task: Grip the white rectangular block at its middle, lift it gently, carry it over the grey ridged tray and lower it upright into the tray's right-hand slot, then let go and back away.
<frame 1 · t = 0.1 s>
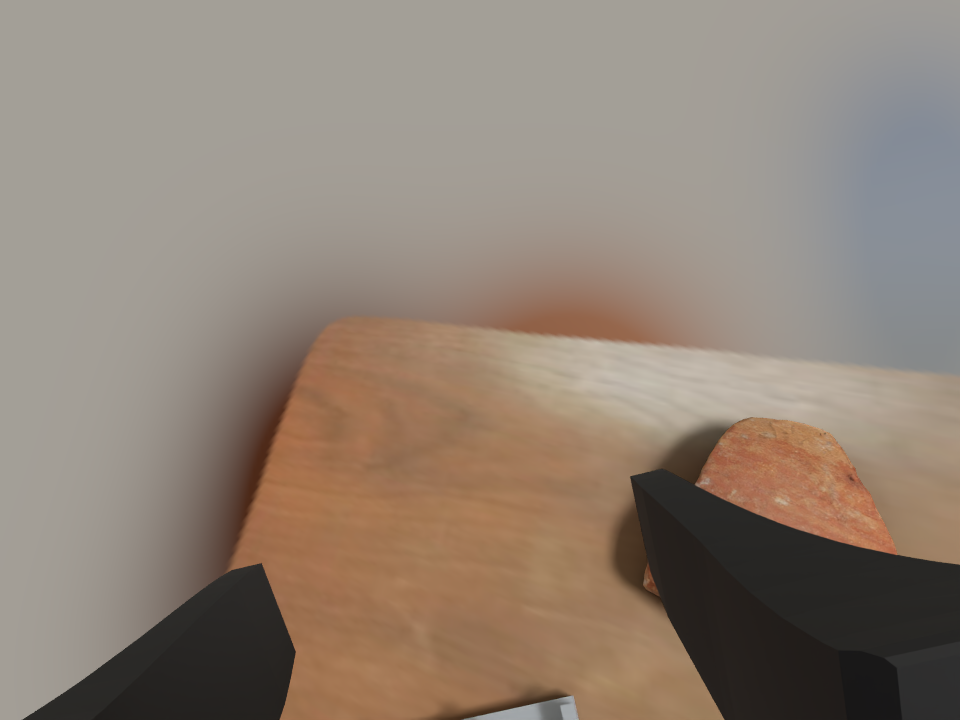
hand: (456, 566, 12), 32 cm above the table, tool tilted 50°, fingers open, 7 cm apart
ceramic shard: (788, 545, 41), on the table
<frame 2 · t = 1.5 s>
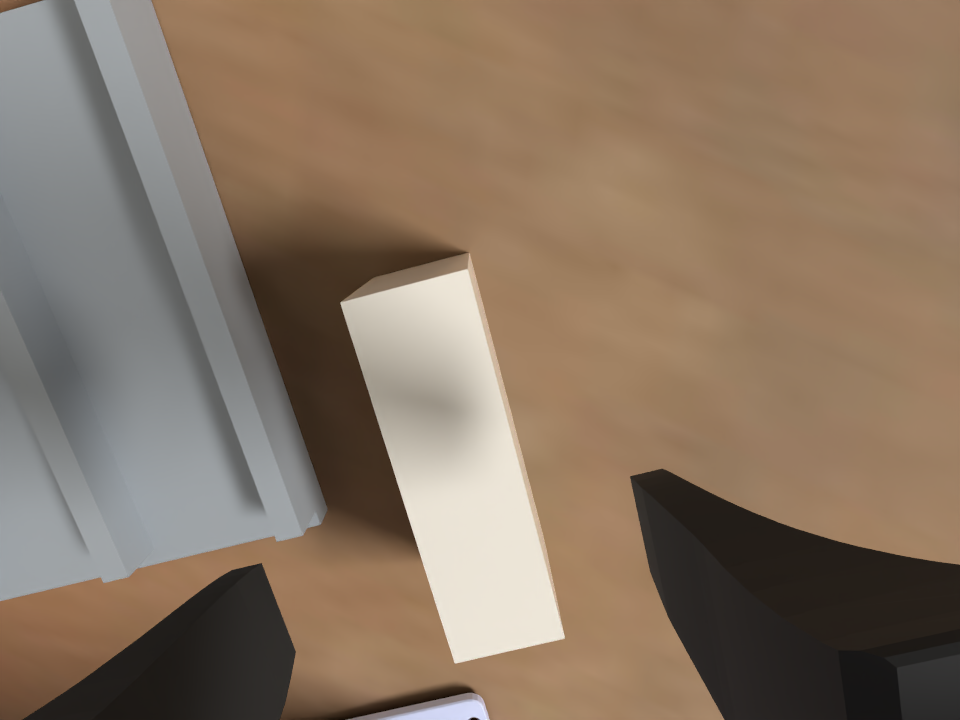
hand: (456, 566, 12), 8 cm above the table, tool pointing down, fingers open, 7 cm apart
white rectangular block: (463, 415, 20), on the table
grey ridged tray: (67, 322, 19), on the table
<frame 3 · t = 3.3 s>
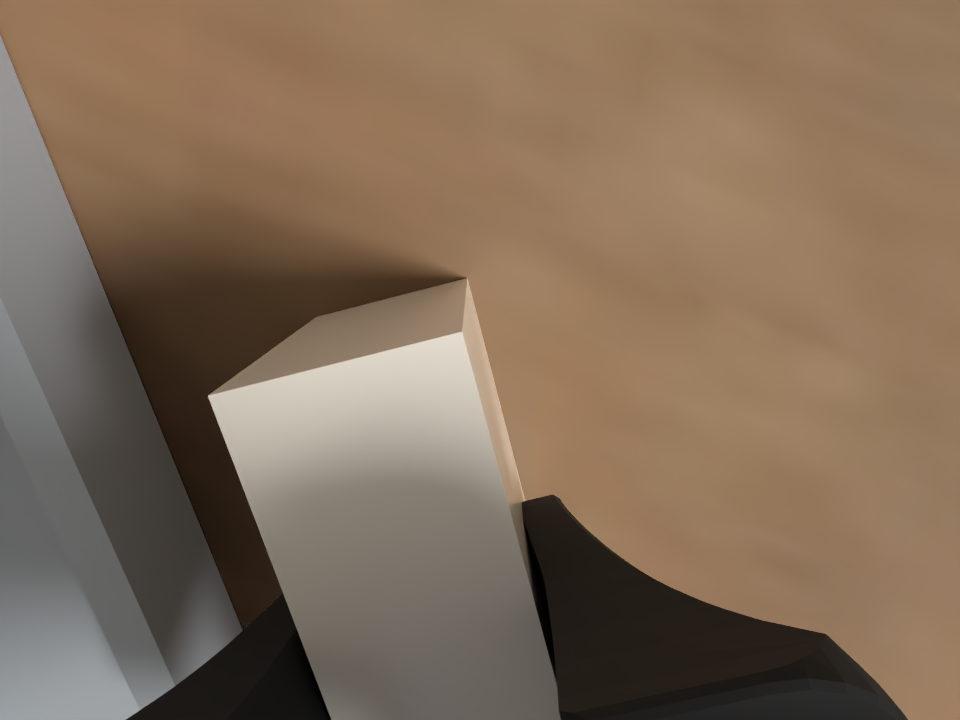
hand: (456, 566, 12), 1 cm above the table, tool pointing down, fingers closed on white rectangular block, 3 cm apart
white rectangular block: (458, 526, 13), on the table, touching gripper
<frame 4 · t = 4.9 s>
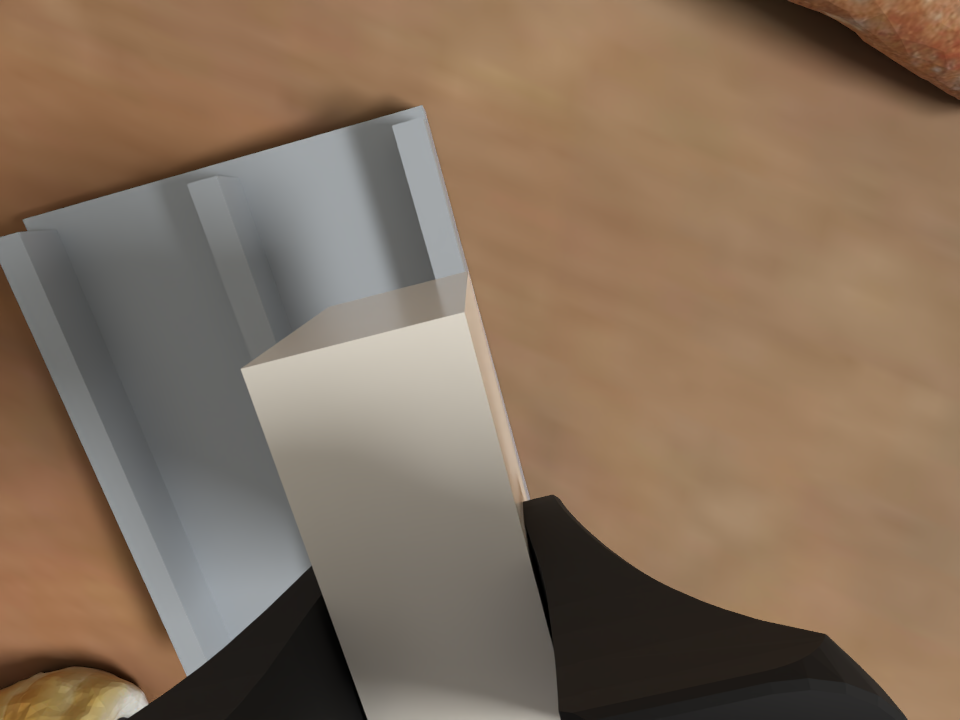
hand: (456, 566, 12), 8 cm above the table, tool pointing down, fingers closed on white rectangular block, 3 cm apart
white rectangular block: (459, 503, 14), point 6 cm above the table, touching gripper
grey ridged tray: (320, 418, 20), on the table
when the fingers open (3 cm above the table, at t = 6.7 s): white rectangular block stays where it is, resting on grey ridged tray.
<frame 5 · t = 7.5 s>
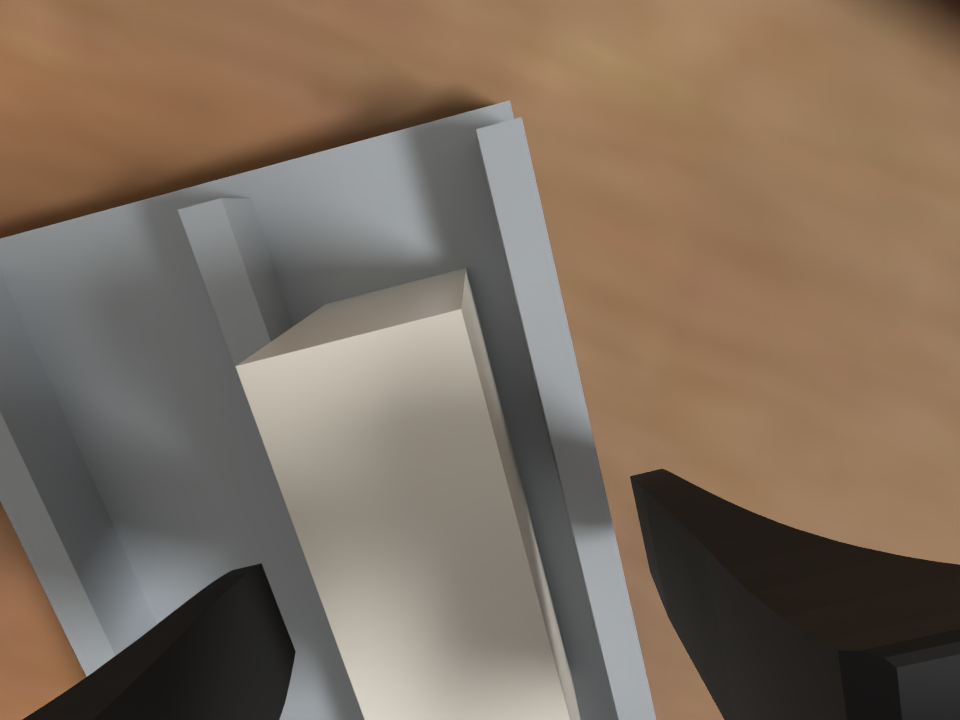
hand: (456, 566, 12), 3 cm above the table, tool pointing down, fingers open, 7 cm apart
white rectangular block: (457, 501, 14), point 1 cm above the table, touching grey ridged tray
grey ridged tray: (353, 511, 15), on the table
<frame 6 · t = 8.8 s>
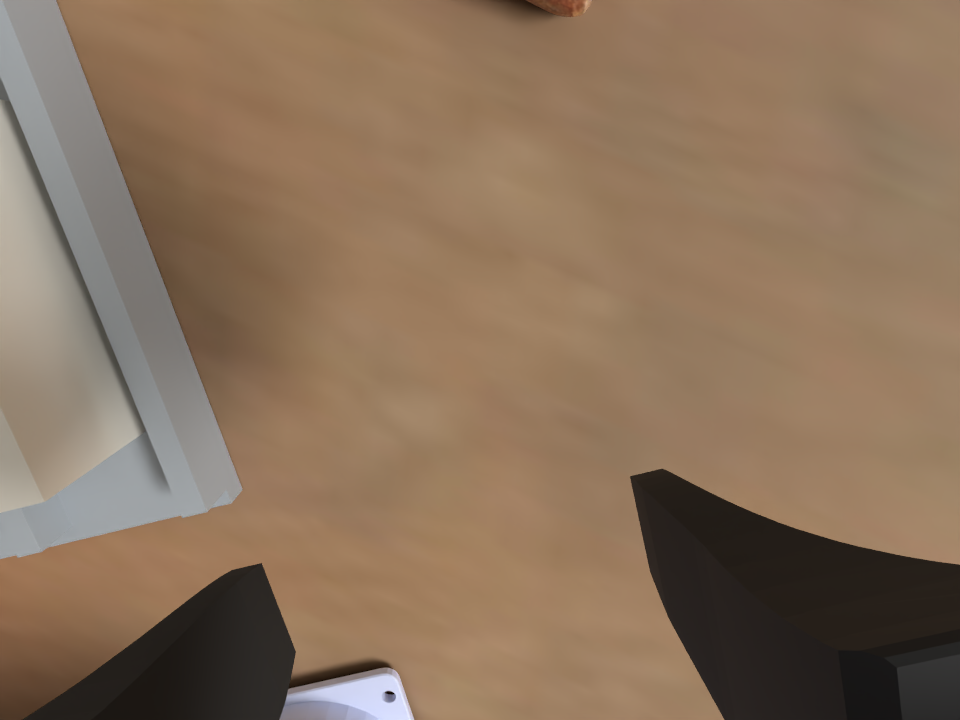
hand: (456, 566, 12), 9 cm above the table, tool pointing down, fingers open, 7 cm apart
white rectangular block: (40, 288, 19), point 1 cm above the table, touching grey ridged tray
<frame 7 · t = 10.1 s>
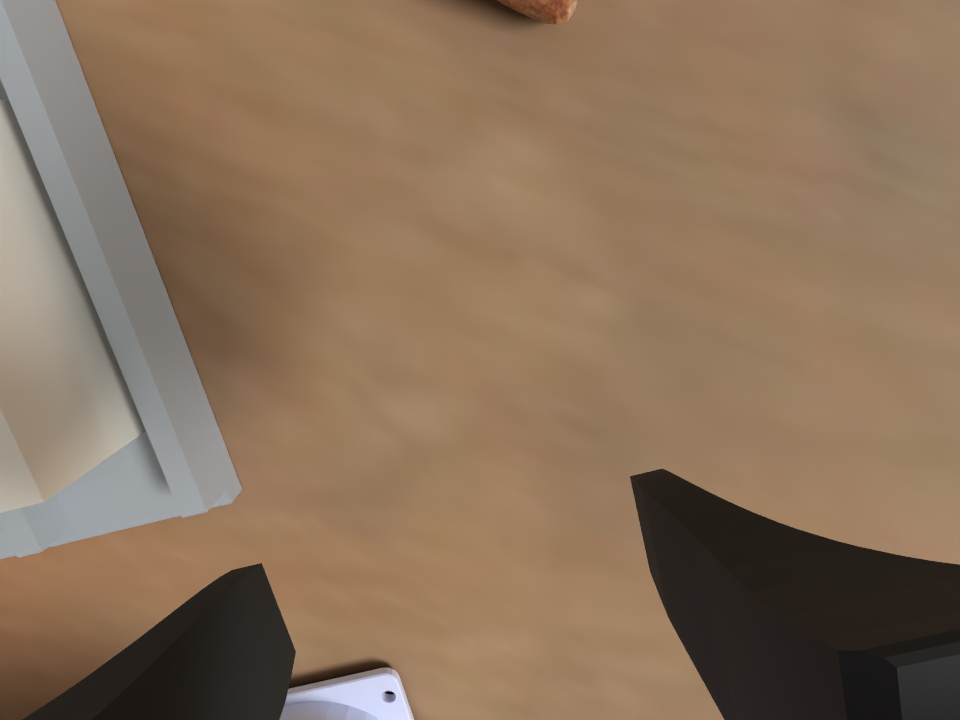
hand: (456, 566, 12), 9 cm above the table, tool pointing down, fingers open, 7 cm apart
white rectangular block: (40, 288, 19), point 1 cm above the table, touching grey ridged tray
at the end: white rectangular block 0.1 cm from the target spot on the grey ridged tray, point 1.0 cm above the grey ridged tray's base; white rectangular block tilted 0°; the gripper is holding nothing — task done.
